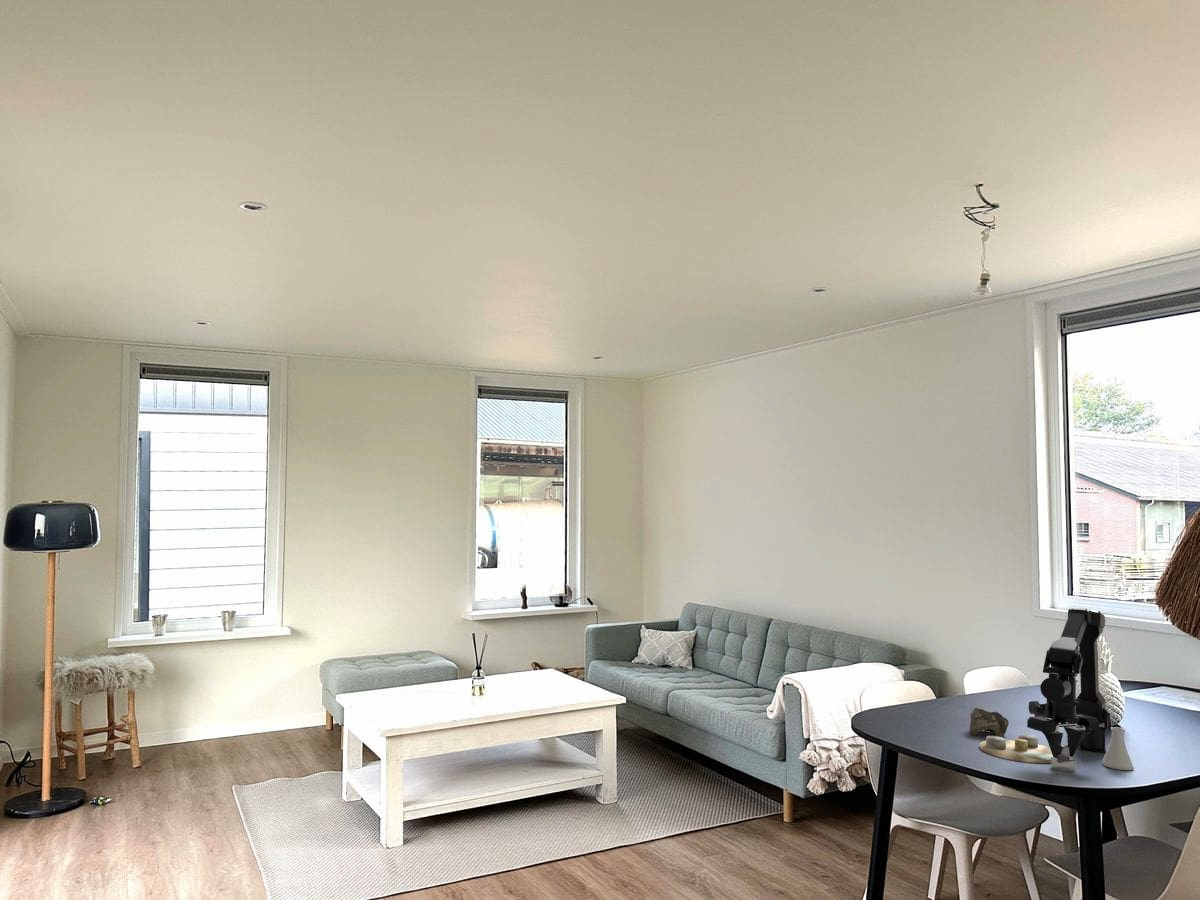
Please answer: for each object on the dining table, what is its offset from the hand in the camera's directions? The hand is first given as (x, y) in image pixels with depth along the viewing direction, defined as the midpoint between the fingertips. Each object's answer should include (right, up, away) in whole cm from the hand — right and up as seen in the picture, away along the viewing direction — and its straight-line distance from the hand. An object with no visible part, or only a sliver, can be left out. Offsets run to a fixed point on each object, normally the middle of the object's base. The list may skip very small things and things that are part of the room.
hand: (1063, 757), depth 232 cm
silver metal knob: (0, -3, 0) cm, 3 cm away
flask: (+16, -4, +4) cm, 17 cm away
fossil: (-4, -6, +35) cm, 35 cm away
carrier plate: (-4, -4, +15) cm, 16 cm away
